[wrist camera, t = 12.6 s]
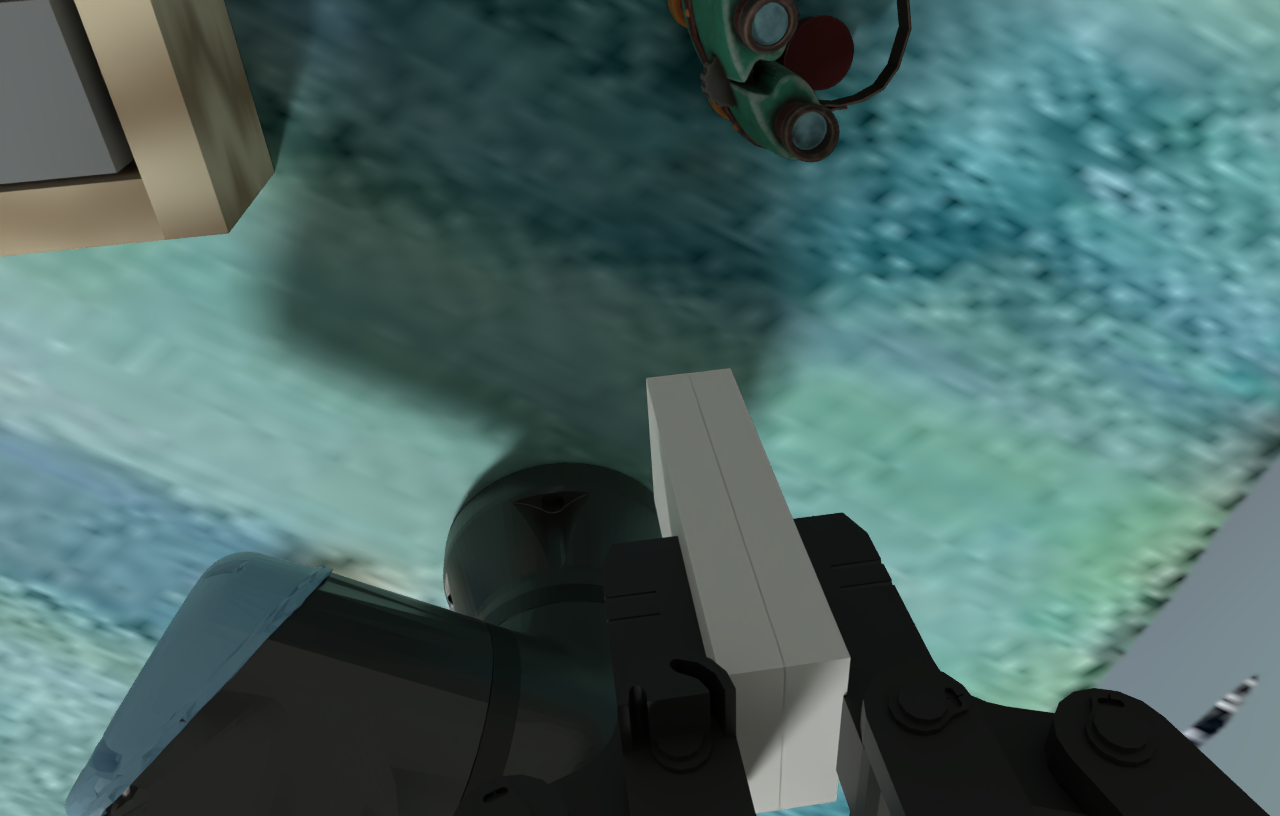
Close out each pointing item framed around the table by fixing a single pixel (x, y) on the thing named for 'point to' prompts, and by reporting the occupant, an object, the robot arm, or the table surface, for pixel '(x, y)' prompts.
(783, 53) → the binoculars
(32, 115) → the gray block
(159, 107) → the frame
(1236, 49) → the table surface
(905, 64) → the table surface
